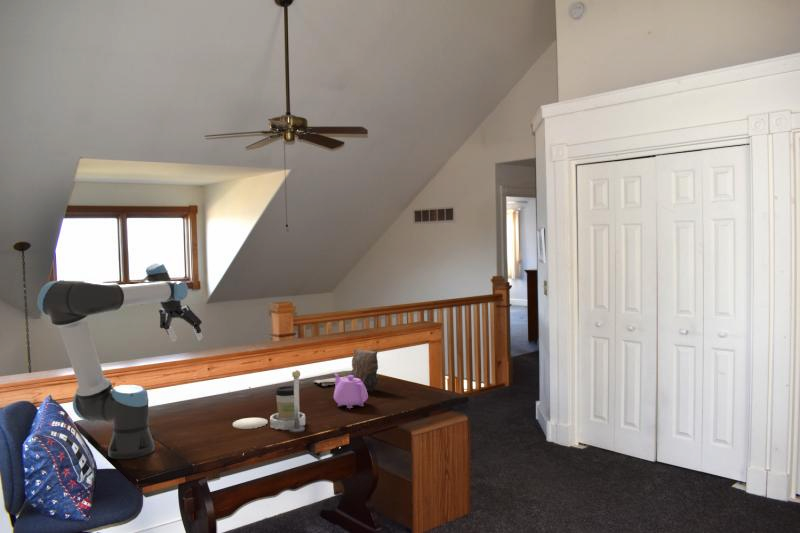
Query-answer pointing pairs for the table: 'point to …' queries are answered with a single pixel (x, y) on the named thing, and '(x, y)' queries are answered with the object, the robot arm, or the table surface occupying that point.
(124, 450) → the robot arm
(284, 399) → the coffee cup
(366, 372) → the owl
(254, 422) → the cream pad
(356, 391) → the teapot
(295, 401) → the ring stand
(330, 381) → the newspaper
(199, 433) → the table surface
